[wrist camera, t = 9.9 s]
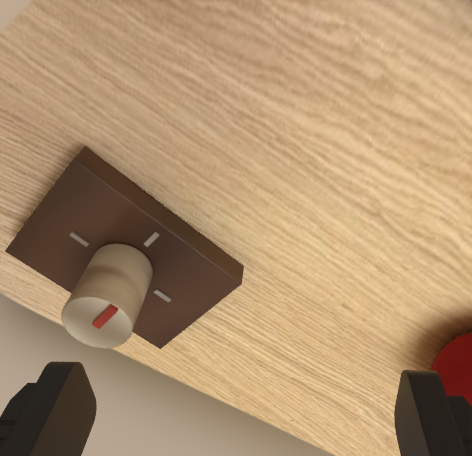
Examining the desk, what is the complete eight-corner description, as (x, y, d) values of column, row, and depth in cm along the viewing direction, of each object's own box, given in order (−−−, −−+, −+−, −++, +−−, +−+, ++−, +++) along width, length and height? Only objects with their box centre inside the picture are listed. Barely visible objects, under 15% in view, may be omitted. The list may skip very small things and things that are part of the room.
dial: (131, 300, 34) (106, 362, 29) (81, 268, 33) (46, 327, 28) (165, 267, 32) (144, 328, 27) (113, 231, 31) (81, 288, 26)
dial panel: (18, 235, 34) (3, 252, 32) (85, 146, 29) (72, 160, 28) (165, 331, 38) (159, 351, 37) (243, 266, 34) (241, 285, 32)
